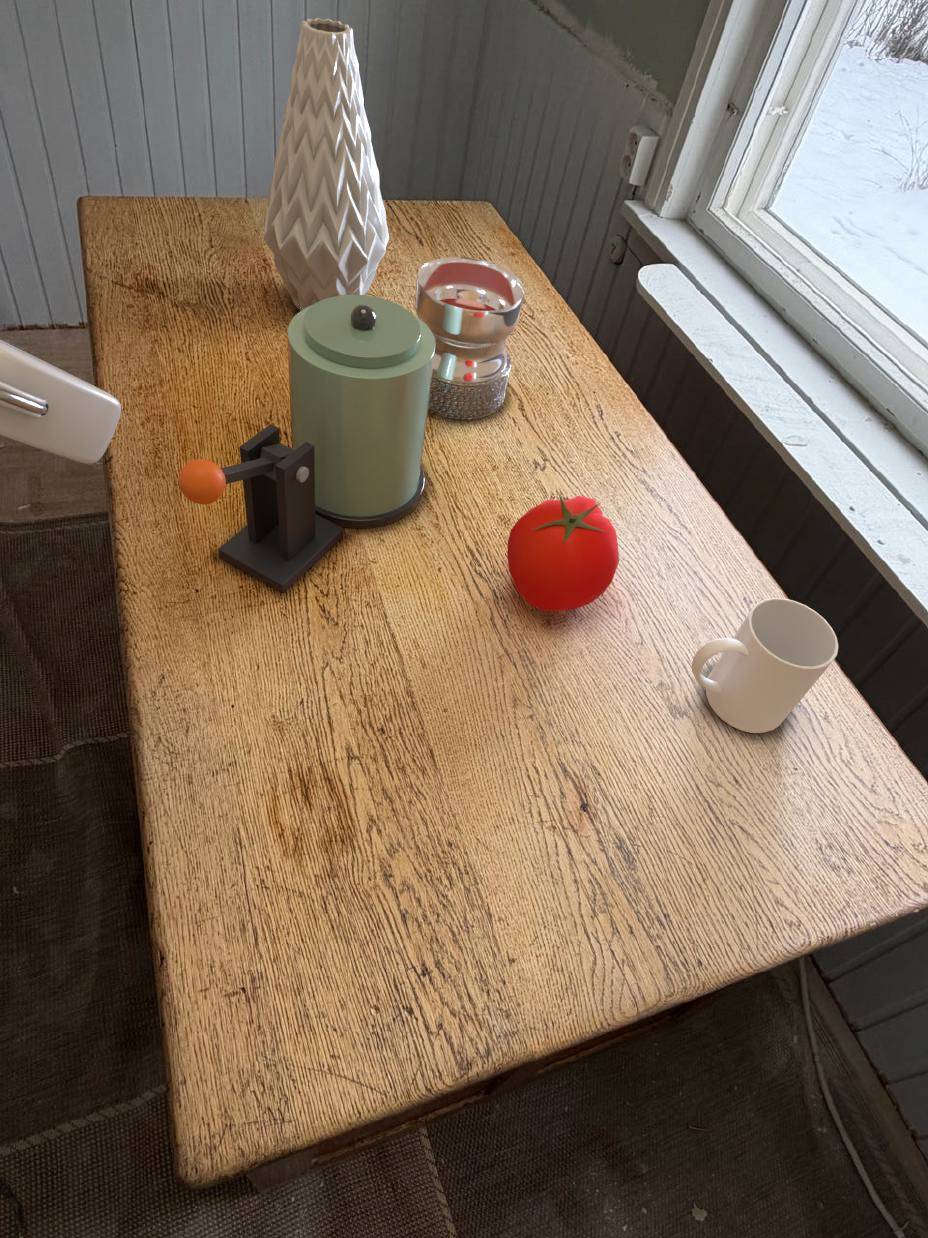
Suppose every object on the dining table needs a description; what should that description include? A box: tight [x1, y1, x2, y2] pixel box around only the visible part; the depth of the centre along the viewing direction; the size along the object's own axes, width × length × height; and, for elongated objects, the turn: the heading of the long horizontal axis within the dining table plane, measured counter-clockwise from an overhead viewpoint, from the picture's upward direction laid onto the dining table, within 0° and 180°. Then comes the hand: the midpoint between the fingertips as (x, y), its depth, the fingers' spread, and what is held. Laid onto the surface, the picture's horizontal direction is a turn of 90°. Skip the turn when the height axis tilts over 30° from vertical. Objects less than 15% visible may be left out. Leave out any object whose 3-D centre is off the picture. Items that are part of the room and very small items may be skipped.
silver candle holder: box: [414, 256, 525, 421], centre depth 98 cm, size 13×18×15 cm
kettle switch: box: [178, 442, 295, 505], centre depth 67 cm, size 13×4×4 cm, turn 150°
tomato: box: [506, 495, 620, 612], centre depth 77 cm, size 11×13×10 cm
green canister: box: [286, 294, 436, 529], centre depth 80 cm, size 15×15×21 cm
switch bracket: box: [217, 423, 344, 593], centre depth 75 cm, size 10×8×13 cm
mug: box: [691, 597, 839, 734], centre depth 71 cm, size 12×8×10 cm, turn 102°
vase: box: [263, 17, 390, 312], centre depth 99 cm, size 17×17×33 cm
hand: (41, 392), depth 45 cm, fingers open, 8 cm apart
